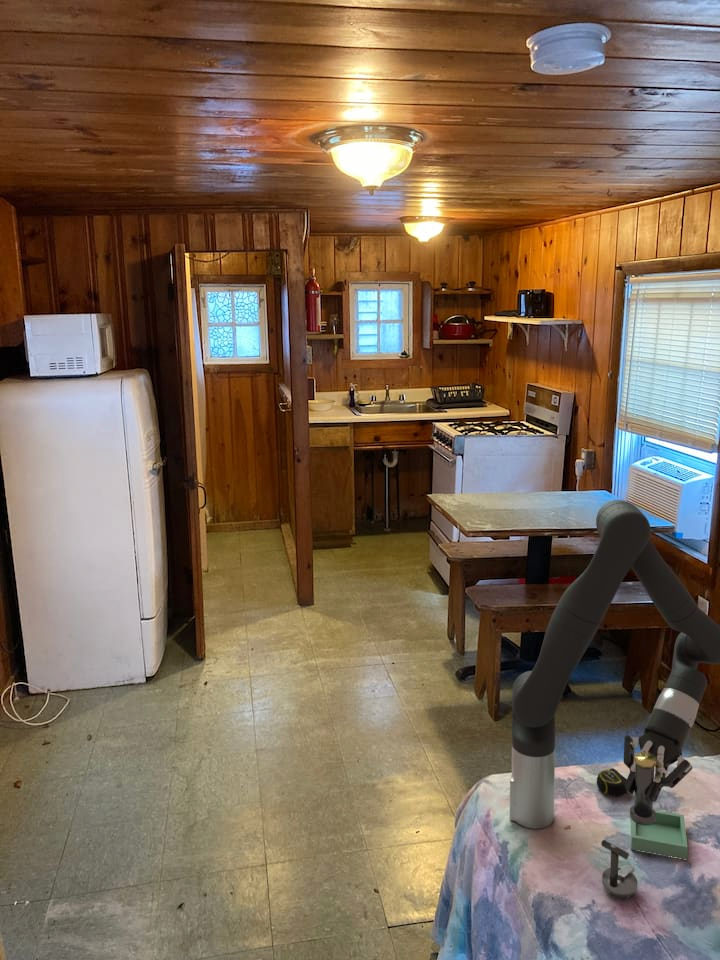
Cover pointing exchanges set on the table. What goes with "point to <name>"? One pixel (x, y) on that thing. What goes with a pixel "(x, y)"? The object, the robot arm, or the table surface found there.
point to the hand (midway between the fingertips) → (638, 796)
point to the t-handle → (618, 874)
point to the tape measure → (611, 782)
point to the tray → (661, 835)
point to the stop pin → (643, 789)
